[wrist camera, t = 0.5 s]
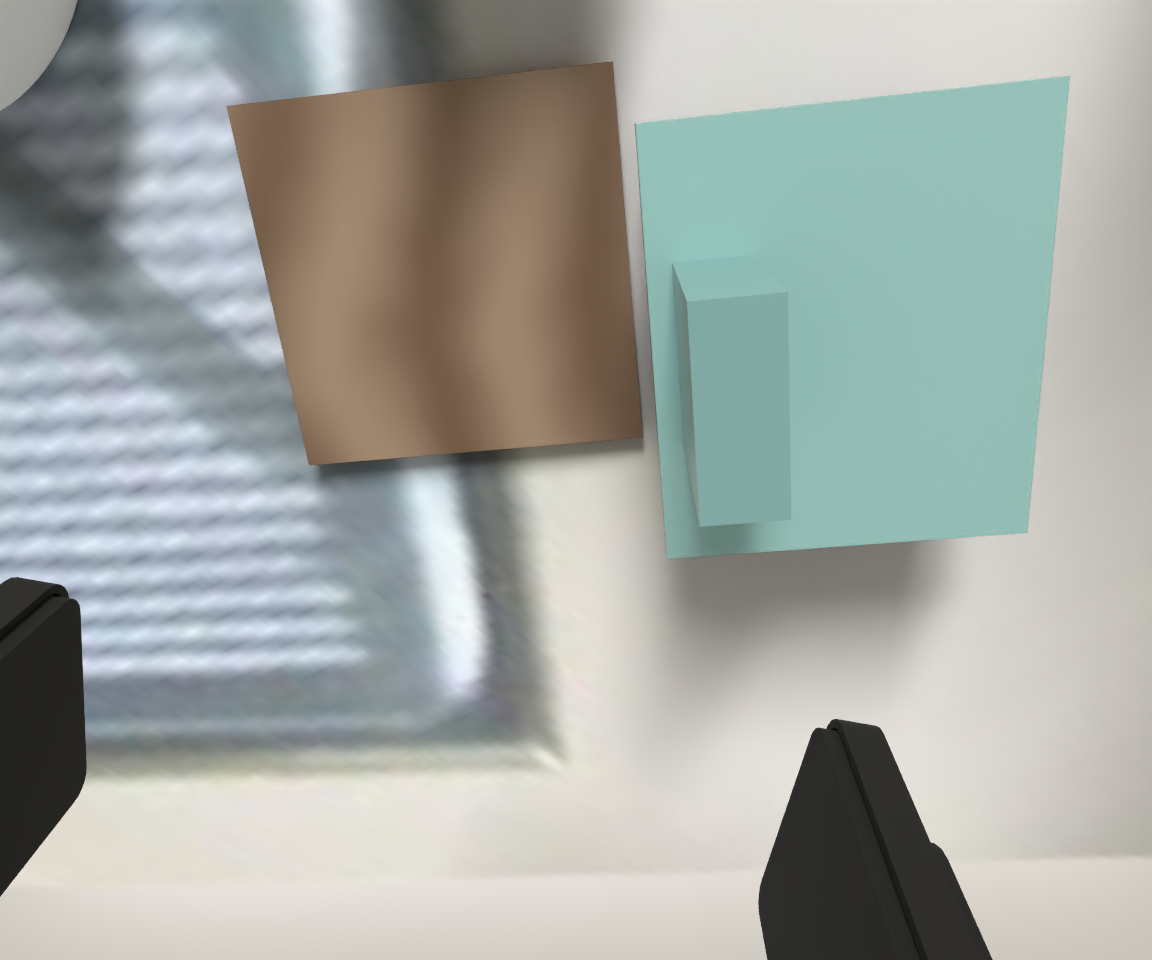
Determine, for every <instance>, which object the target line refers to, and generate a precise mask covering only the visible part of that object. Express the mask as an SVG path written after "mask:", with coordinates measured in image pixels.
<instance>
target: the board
mask: <svg viewBox="0 0 1152 960" xmlns="http://www.w3.org/2000/svg"><path fill="white" fill-rule="evenodd" d="M227 110H228V114H229V119H230V123H231V127H232V132H233V136H234V140H235V145H236V149H237V153H238V158H239V162H240V166H241V171H242V175H243V180H244V184H245V188H246V193H247V197H248V201H249V206H250V210H251V214H252V219H253V223H254V227H255V232H256V236H257V240H258V245H259V249H260V254H261V258H262V262H263V267H264V271H265V275H266V280H267V284H268V288H269V293H270V297H271V301H272V306H273V310H274V314H275V319H276V323H277V328H278V332H279V336H280V341H281V345H282V349H283V354H284V358H285V362H286V367H287V371H288V375H289V380H290V384H291V388H292V393H293V397H294V402H295V406H296V410H297V415H298V419H299V423H300V428H301V432H302V436H303V441H304V445H305V449H306V454H307V458H308V462H309V465H320V464H332V463H344V462H356V461H367V460H379V459H391V458H403V457H415V456H427V455H439V454H451V453H463V452H475V451H487V450H499V449H511V448H523V447H535V446H547V445H559V444H571V443H583V442H595V441H607V440H618V439H630V438H642V437H643V436H642V423H641V411H640V398H639V386H638V373H637V361H636V348H635V336H634V323H633V311H632V298H631V286H630V273H629V261H628V248H627V236H626V223H625V211H624V198H623V186H622V173H621V161H620V148H619V136H618V123H617V111H616V98H615V86H614V73H613V62H604V63H596V64H587V65H578V66H570V67H561V68H552V69H544V70H535V71H527V72H518V73H509V74H501V75H492V76H483V77H475V78H466V79H457V80H449V81H440V82H431V83H423V84H414V85H405V86H397V87H388V88H379V89H371V90H362V91H354V92H345V93H336V94H328V95H319V96H310V97H302V98H293V99H284V100H276V101H267V102H258V103H250V104H241V105H232V106H227Z"/></svg>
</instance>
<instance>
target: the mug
mask: <svg viewBox="0 0 1152 960" xmlns="http://www.w3.org/2000/svg"><path fill="white" fill-rule="evenodd" d="M76 4H77V0H0V111H1V110H2V109H4V108H6V107H7V106H9V105H10V104H12V103H13V102H14V101H16V100H17V99H18V98H19V97H21V96H22V95H23V94H24V93H25V92H26V91H27V90H28V89H29V88H30V87H31V86H32V85H33V84H34V83H35V82H36V80H37V79H38V78H39V77H40V76H41V74H42V73H43V72H44V71H45V69H46V68H47V66H48V65H49V64H50V62H51V61H52V59H53V57H54V56H55V54H56V52H57V51H58V49H59V47H60V45H61V43H62V41H63V39H64V37H65V35H66V33H67V31H68V28H69V26H70V23H71V20H72V17H73V14H74V11H75V8H76Z"/></svg>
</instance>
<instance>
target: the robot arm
mask: <svg viewBox="0 0 1152 960" xmlns="http://www.w3.org/2000/svg"><path fill="white" fill-rule="evenodd" d="M85 776H86V742H85V716H84V691H83V666H82V640H81V615H80V606H79V604H78V602H77V601H76V600H74V599H70V598H69V596H68V592H67V591H66V589H65V587H63V586H62V585H59V584H53V583H47V582H41V581H36V580H30V579H24V578H18V577H15V578H10V579H8V580H6V581H4V582H3V583H2V584H0V896H1V895H2V894H3V892H4V891H5V890H6V889H7V887H8V886H9V885H10V884H11V882H12V881H13V880H14V878H15V877H16V876H17V875H18V873H19V872H20V871H21V869H22V868H23V867H24V866H25V864H26V863H27V862H28V860H29V859H30V858H31V857H32V855H33V854H34V853H35V852H36V850H37V849H38V848H39V846H40V845H41V844H42V843H43V841H44V840H45V839H46V837H47V836H48V835H49V834H50V832H51V831H52V830H53V829H54V827H55V826H56V825H57V823H58V822H59V821H60V820H61V818H62V817H63V816H64V814H65V813H66V812H67V811H68V809H69V808H70V807H71V806H72V804H73V803H74V802H75V800H76V799H77V797H78V796H79V793H80V791H81V789H82V787H83V784H84V781H85ZM759 915H760V921H761V927H762V932H763V938H764V943H765V948H766V954H767V959H768V960H992V958H991V955H990V953H989V951H988V949H987V946H986V944H985V942H984V940H983V938H982V935H981V933H980V931H979V928H978V926H977V924H976V922H975V919H974V917H973V915H972V913H971V910H970V908H969V906H968V904H967V901H966V899H965V897H964V895H963V892H962V890H961V888H960V886H959V883H958V881H957V879H956V877H955V874H954V872H953V870H952V868H951V865H950V863H949V861H948V859H947V857H946V856H945V854H944V852H943V851H942V849H941V848H940V847H938V846H937V845H936V844H934V843H931V842H930V840H929V838H928V835H927V833H926V831H925V828H924V826H923V824H922V822H921V819H920V817H919V815H918V812H917V810H916V808H915V805H914V803H913V801H912V798H911V796H910V794H909V791H908V789H907V787H906V784H905V782H904V780H903V778H902V775H901V773H900V771H899V768H898V766H897V764H896V761H895V759H894V757H893V754H892V752H891V750H890V747H889V745H888V743H887V740H886V738H885V736H884V734H883V732H882V730H881V729H880V728H879V727H877V726H873V725H868V724H862V723H856V722H850V721H845V720H839V719H834V720H832V721H831V722H830V723H829V724H828V726H827V729H823V728H816V729H815V730H814V731H813V733H812V735H811V738H810V741H809V744H808V746H807V749H806V752H805V755H804V758H803V761H802V764H801V767H800V770H799V773H798V776H797V779H796V782H795V785H794V787H793V790H792V793H791V796H790V799H789V802H788V805H787V808H786V811H785V814H784V817H783V820H782V823H781V825H780V828H779V831H778V834H777V837H776V840H775V843H774V846H773V849H772V852H771V855H770V858H769V861H768V864H767V866H766V869H765V872H764V875H763V878H762V882H761V885H760V891H759Z"/></svg>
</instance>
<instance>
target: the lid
mask: <svg viewBox="0 0 1152 960" xmlns="http://www.w3.org/2000/svg"><path fill="white" fill-rule="evenodd" d="M1069 80H1070V76H1064V77H1051V78H1042V79H1033V80H1024V81H1015V82H1006V83H997V84H988V85H979V86H970V87H961V88H952V89H943V90H933V91H924V92H915V93H906V94H897V95H888V96H879V97H870V98H861V99H852V100H843V101H834V102H825V103H815V104H806V105H797V106H788V107H779V108H770V109H761V110H752V111H743V112H734V113H725V114H716V115H707V116H697V117H688V118H679V119H670V120H661V121H652V122H643V123H635V134H636V147H637V161H638V174H639V188H640V202H641V215H642V229H643V243H644V256H645V270H646V284H647V297H648V311H649V324H650V338H651V352H652V365H653V379H654V393H655V406H656V420H657V433H658V447H659V461H660V474H661V488H662V502H663V515H664V529H665V543H666V552H667V559H676V558H690V557H703V556H717V555H730V554H744V553H758V552H771V551H785V550H799V549H812V548H826V547H840V546H853V545H867V544H881V543H894V542H908V541H922V540H935V539H949V538H962V537H976V536H990V535H1003V534H1017V533H1027V530H1028V519H1029V509H1030V498H1031V487H1032V477H1033V466H1034V455H1035V444H1036V434H1037V423H1038V412H1039V402H1040V391H1041V380H1042V369H1043V359H1044V348H1045V337H1046V327H1047V316H1048V305H1049V294H1050V284H1051V273H1052V262H1053V252H1054V241H1055V230H1056V219H1057V209H1058V198H1059V187H1060V177H1061V166H1062V155H1063V144H1064V134H1065V123H1066V112H1067V102H1068V91H1069Z"/></svg>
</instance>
